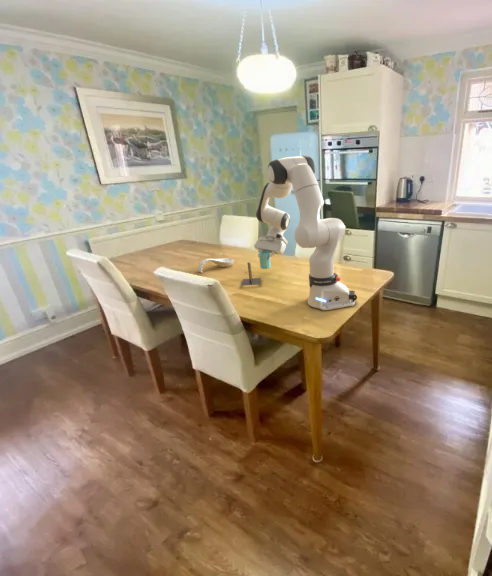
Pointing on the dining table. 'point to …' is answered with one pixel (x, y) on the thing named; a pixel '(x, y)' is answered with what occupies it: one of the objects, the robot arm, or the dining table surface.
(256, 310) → the dining table surface
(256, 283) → the stand
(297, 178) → the robot arm
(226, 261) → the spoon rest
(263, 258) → the teal hollow cylinder
